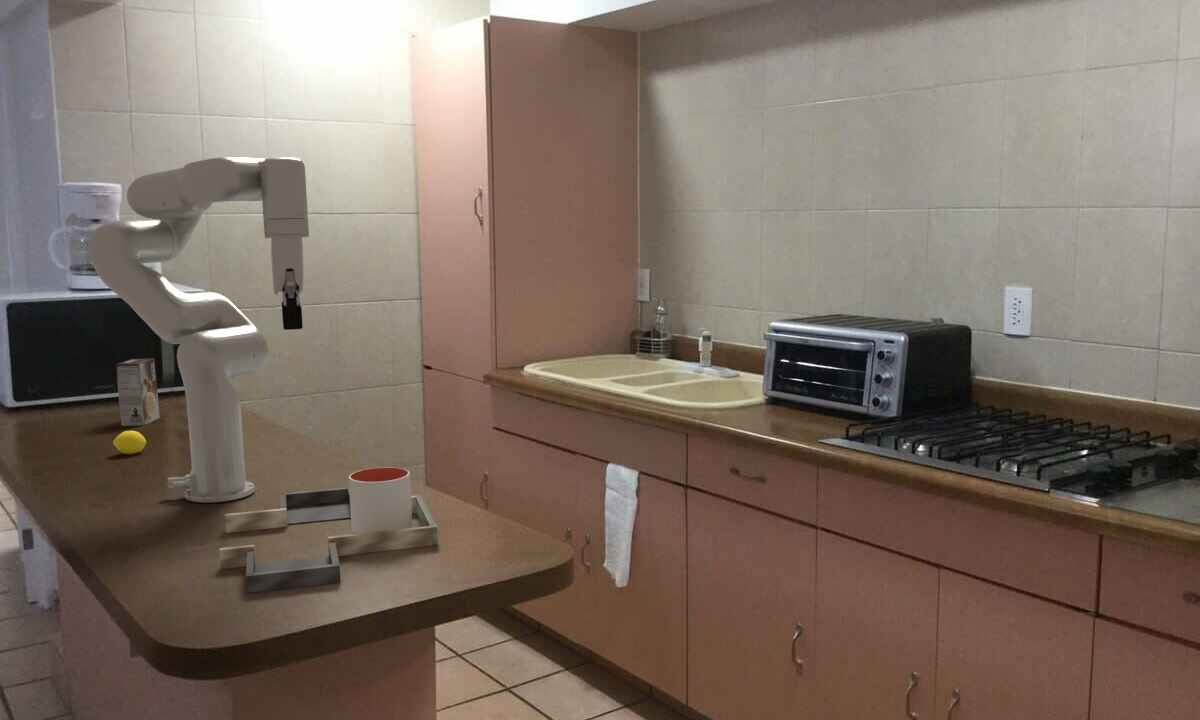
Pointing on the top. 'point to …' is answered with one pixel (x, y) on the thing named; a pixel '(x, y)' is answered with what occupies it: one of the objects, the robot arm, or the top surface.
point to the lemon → (129, 442)
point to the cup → (380, 499)
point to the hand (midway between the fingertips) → (292, 326)
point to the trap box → (328, 568)
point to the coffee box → (137, 392)
